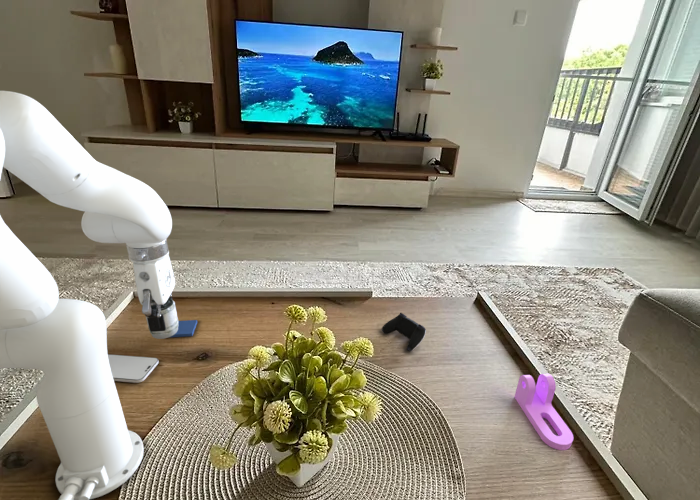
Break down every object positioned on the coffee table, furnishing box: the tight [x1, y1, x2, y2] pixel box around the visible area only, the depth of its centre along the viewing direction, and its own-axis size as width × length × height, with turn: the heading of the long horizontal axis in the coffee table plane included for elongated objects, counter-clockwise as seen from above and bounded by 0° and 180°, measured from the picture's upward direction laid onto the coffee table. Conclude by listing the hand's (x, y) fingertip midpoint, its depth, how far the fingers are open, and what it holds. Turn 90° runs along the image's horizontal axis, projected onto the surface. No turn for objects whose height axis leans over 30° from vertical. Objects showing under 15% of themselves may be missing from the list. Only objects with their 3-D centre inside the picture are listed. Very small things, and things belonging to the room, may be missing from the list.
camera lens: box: [145, 298, 179, 340], centre depth 89 cm, size 6×6×8 cm
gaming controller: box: [381, 312, 427, 352], centre depth 100 cm, size 11×4×7 cm
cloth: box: [170, 319, 198, 338], centre depth 101 cm, size 6×6×1 cm
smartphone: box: [108, 353, 160, 384], centre depth 87 cm, size 7×1×15 cm
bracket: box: [514, 373, 574, 451], centre depth 76 cm, size 13×6×7 cm, turn 6°
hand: (162, 320), depth 90 cm, fingers closed on camera lens, 6 cm apart
